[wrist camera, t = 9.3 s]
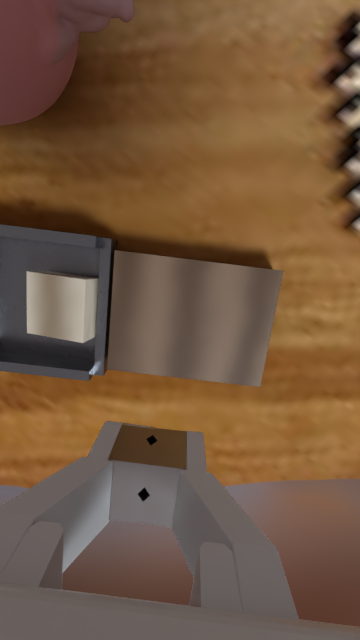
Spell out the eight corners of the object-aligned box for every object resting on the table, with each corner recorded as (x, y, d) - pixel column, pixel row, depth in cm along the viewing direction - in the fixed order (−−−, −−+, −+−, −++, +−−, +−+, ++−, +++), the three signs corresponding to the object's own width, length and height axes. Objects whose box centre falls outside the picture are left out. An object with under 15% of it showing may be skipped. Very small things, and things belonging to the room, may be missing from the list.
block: (101, 278, 27) (85, 279, 24) (98, 335, 28) (83, 343, 25) (47, 270, 28) (26, 271, 25) (47, 326, 29) (26, 333, 26)
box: (117, 240, 27) (103, 236, 23) (109, 366, 30) (95, 386, 26) (-38, 221, 27) (-86, 213, 22) (-31, 350, 30) (-72, 367, 25)
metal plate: (272, 269, 28) (283, 270, 25) (252, 374, 31) (260, 386, 28) (121, 251, 28) (114, 250, 25) (114, 358, 30) (107, 369, 27)
